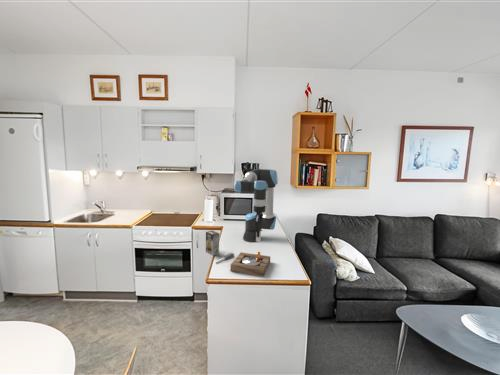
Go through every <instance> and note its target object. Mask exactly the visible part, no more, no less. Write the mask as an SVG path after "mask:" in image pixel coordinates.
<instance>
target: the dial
mask: <svg viewBox="0 0 500 375" xmlns="http://www.w3.org/2000/svg"><path fill="white" fill-rule="evenodd" d="M260 255H261V252H260V251H257V252H256V257H245V258H243V259H242V264H247V265H253V266H260V264H261V260H260Z"/></svg>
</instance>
